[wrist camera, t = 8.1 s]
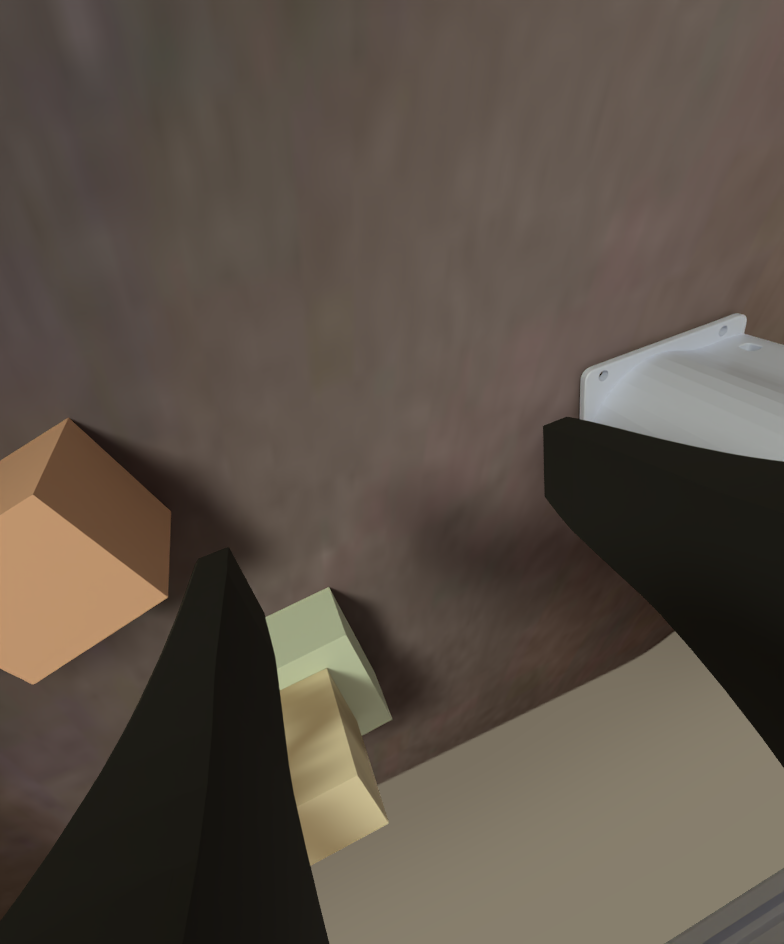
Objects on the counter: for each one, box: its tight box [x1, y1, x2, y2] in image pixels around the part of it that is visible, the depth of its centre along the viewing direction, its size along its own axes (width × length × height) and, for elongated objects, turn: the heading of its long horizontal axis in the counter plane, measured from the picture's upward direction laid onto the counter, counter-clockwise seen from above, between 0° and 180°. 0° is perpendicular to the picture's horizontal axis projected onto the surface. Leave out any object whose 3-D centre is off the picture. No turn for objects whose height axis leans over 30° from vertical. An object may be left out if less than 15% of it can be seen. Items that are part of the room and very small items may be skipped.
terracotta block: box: [0, 418, 171, 685], centre depth 16 cm, size 5×5×5 cm
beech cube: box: [280, 668, 389, 866], centre depth 22 cm, size 5×5×5 cm
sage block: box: [265, 587, 392, 736], centre depth 25 cm, size 8×8×4 cm
